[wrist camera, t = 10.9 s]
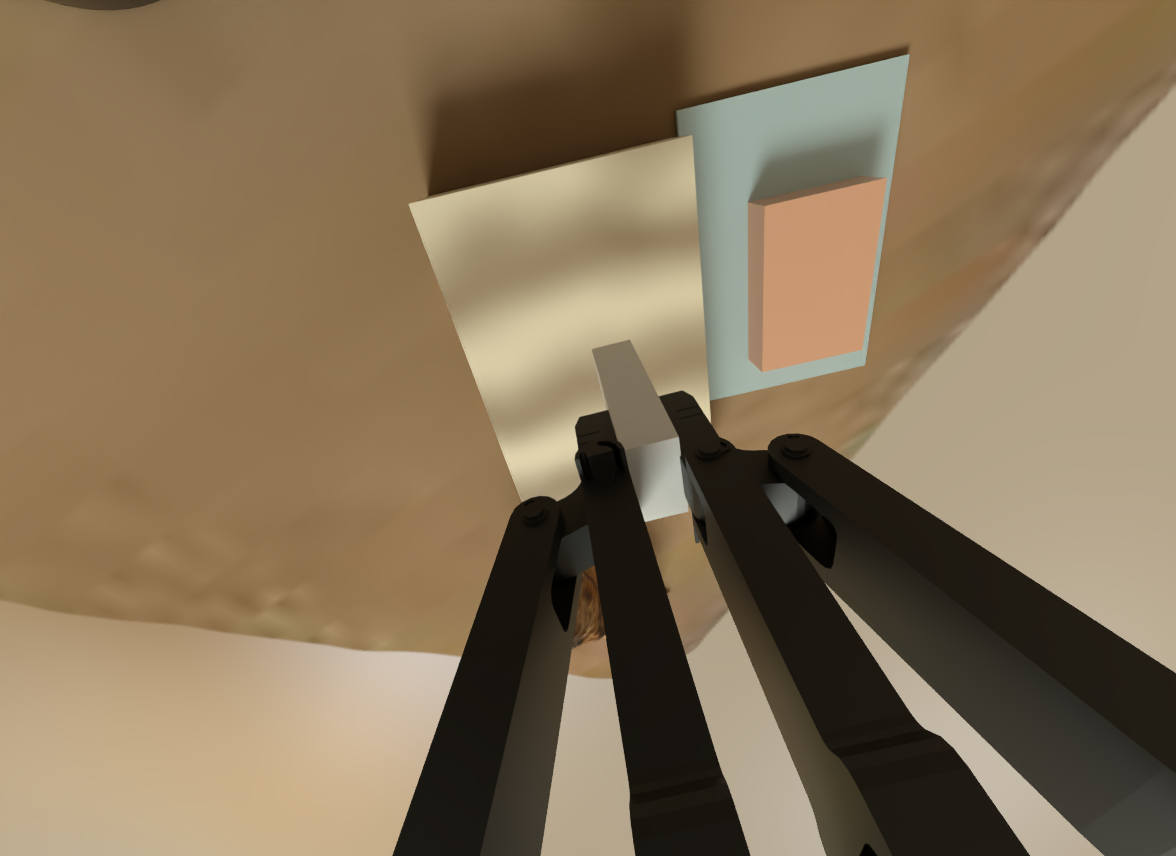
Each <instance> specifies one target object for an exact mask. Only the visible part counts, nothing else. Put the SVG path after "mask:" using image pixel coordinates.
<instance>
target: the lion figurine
mask: <svg viewBox="0 0 1176 856" xmlns="http://www.w3.org/2000/svg"><path fill="white" fill-rule="evenodd" d="M582 576H583V577H582V584H581V591H580V597H579V604H578V610H577V617H576V624H575V630H574V637H573V643H572V650H573V649H577V648H578V647H579V646H580V645H582V644H587V643H589V642H596V641H598V640H600V639H601V638H602V637H603V638H605V639H606V635H605V629H604V622H603V616H602V610H601V603H600V597H599V591H598V584H597V578H596V572H595V565H594V566H593V567H591V568H589V569H587V570H585V571H584V572H582ZM572 650H571V651H572Z"/></svg>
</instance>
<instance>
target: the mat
mask: <svg viewBox="0 0 1176 856" xmlns="http://www.w3.org/2000/svg"><path fill="white" fill-rule="evenodd" d="M909 55H910V54H907V55H903V56H899V57H895V58H891V59H887V60H883V61H879V62H875V63H871V64H866V65H862V66H858V67H854V68H850V69H846V70H842V71H838V72H834V73H829V74H825V75H821V76H817V77H813V78H809V79H805V80H801V81H797V82H792V83H788V84H784V85H780V86H776V87H772V88H768V89H764V90H760V91H756V92H751V93H747V94H743V95H739V96H735V97H731V98H727V99H723V100H719V101H714V102H710V103H706V104H702V105H698V106H694V107H690V108H686V109H682V110H677V111H675V112H676V125H677V137H681V136H689V135H692V138H693V154H694V169H695V185H696V200H697V215H698V231H699V246H700V262H701V277H702V292H703V308H704V323H705V339H706V354H707V369H708V385H709V400H710V401H711V400H716V399H720V398H724V397H729V396H733V395H737V394H742V393H746V392H750V391H755V390H759V389H763V388H768V387H772V386H776V385H781V384H785V383H789V382H794V381H798V380H802V379H807V378H811V377H815V376H820V375H824V374H828V373H833V372H837V371H841V370H846V369H850V368H854V367H859V366H863V365H865V361H866V354H867V348H868V341H869V334H870V327H871V320H872V313H873V306H874V299H875V292H876V285H877V278H878V271H879V264H880V257H881V250H882V243H883V236H884V229H885V222H886V215H887V208H888V201H889V195H890V188H891V181H892V174H893V167H894V160H895V153H896V146H897V139H898V132H899V125H900V118H901V111H902V104H903V97H904V90H905V83H906V76H907V69H908V62H909ZM859 176H868V177H884V178H887V182H886V189H885V196H884V203H883V210H882V217H881V224H880V231H879V238H878V245H877V252H876V259H875V265H874V272H873V279H872V286H871V293H870V300H869V307H868V314H867V321H866V328H865V335H864V342H863V349H862V350H859V351H855V352H850V353H846V354H841V355H837V356H833V357H828V358H824V359H819V360H815V361H810V362H806V363H802V364H797V365H793V366H788V367H784V368H779V369H775V370H771V371H766V372H761V371H760V370H759V369H758V368H757V367H756V366H755V365H754V364H753V363H752V362H751V361H750V360H749V359H748V202H752V201H756V200H760V199H765V198H769V197H773V196H777V195H782V194H786V193H790V192H795V191H799V190H803V189H808V188H812V187H816V186H821V185H825V184H829V183H833V182H838V181H842V180H846V179H851V178H855V177H859Z"/></svg>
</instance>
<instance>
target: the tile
mask: <svg viewBox="0 0 1176 856" xmlns="http://www.w3.org/2000/svg"><path fill="white" fill-rule="evenodd" d="M886 182H887V178H884V177H868V176H859V177H855V178H851V179H846V180H842V181H838V182H833V183H829V184H825V185H821V186H816V187H812V188H808V189H803V190H799V191H795V192H790V193H786V194H782V195H777V196H773V197H769V198H765V199H760V200H756V201H752V202H748V359H749V360H750V361H751V362H752V363H753V364H754V365H755V366H756V367H757V368H758V369H759V370H760V371H761V372H766V371H771V370H775V369H779V368H784V367H788V366H793V365H797V364H802V363H806V362H810V361H815V360H819V359H824V358H828V357H833V356H837V355H841V354H846V353H850V352H855V351H859V350H862V349H863V342H864V335H865V328H866V321H867V314H868V307H869V300H870V293H871V286H872V279H873V272H874V265H875V259H876V252H877V245H878V238H879V231H880V224H881V217H882V210H883V203H884V196H885V189H886Z"/></svg>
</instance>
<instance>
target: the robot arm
mask: <svg viewBox="0 0 1176 856" xmlns="http://www.w3.org/2000/svg"><path fill="white" fill-rule="evenodd" d="M46 1H49V2H53V3H57V4H61V5H65V6H71V7H76V8H82V9H93V10H121V9H130V8H135V7H140V6H145V5H148V4H151V3H154V2H157V1H159V0H46ZM592 354H593V358H594V362H595V366H596V371H597V375H598V379H599V384H600V388H601V392H602V397H603V401H604V405H605V409H606V410H605V411H601V412H597V413H593V414H589V415H585V416H581V417H579V419H578V421H577V423H576V425H575V432H576V438H577V444H578V451H577V452H576V453H575V459H574V460H575V463H576V467H577V470H578V473H579V477H580V480H581V483H580V485H579V486H578V487H577V489H576V490H574V491H573V492H572V493H571V494H569V495H568V496H566V497H565V498H563V499H561V500H559V501H556V500H555V499H553V498H551V497H549V496H537V497H532V498H529V499H527V500H525V501H523V502H522V503H521V504H519V505H518V506H517V507H516V508H515V509H514V511H513V513H512V514H511V516H510V519H509V522H508V525H507V528H506V531H505V534H504V537H503V539H502V542H501V545H500V548H499V551H498V554H497V557H496V560H495V562H494V565H493V568H492V571H491V574H490V577H489V580H488V583H487V585H486V588H485V591H484V594H483V597H482V600H481V603H480V606H479V608H478V611H477V614H476V617H475V620H474V623H473V626H472V629H471V631H470V634H469V637H468V640H467V643H466V646H465V649H464V652H463V654H462V657H461V660H460V663H459V666H458V669H457V672H456V675H455V677H454V681H453V683H452V686H451V689H450V692H449V695H448V698H447V700H446V703H445V706H444V709H443V712H442V715H441V718H440V721H439V723H438V727H437V729H436V732H435V735H434V738H433V741H432V743H431V746H430V749H429V752H428V755H427V758H426V761H425V764H424V766H423V770H422V773H421V775H420V778H419V781H418V784H417V787H416V790H415V792H414V795H413V798H412V801H411V804H410V807H409V810H408V812H407V816H406V818H405V821H404V824H403V827H402V830H401V833H400V836H399V838H398V841H397V844H396V847H395V850H394V853H393V856H540V855H541V848H542V842H543V835H544V828H545V822H546V815H547V808H548V802H549V795H550V788H551V782H552V776H553V769H554V762H555V756H556V749H557V743H558V736H559V728H560V722H561V716H562V710H563V703H564V696H565V690H566V683H567V676H568V670H569V663H570V657H571V650H572V643H573V637H574V630H575V624H576V617H577V610H578V604H579V597H580V591H581V584H582V577H583V576H582V572H584V571H585V570H587V569H589V568H591V567H593V566H594V565H595V572H596V578H597V584H598V591H599V597H600V603H601V610H602V616H603V622H604V629H605V635H606V641H607V648H608V654H609V660H610V667H611V673H612V679H613V686H614V692H615V698H616V704H617V711H618V717H619V723H620V730H621V736H622V743H623V749H624V755H625V761H626V768H627V774H628V781H629V789H630V805H629V807H630V820H631V828H632V835H633V843H634V849H635V856H750V853H749V850H748V846H747V843H746V840H745V837H744V833H743V831H742V827H741V824H740V821H739V817H738V814H737V811H736V809H735V805H734V802H733V799H732V796H731V793H730V790H729V788H728V785H727V782H726V780H725V778H724V776H723V774H722V771H721V768H720V765H719V762H718V759H717V756H716V752H715V750H714V746H713V743H712V739H711V736H710V733H709V730H708V727H707V723H706V720H705V716H704V713H703V710H702V707H701V704H700V700H699V697H698V694H697V690H696V687H695V684H694V681H693V677H692V674H691V671H690V668H689V664H688V661H687V658H686V654H685V651H684V648H683V645H682V641H681V638H680V635H679V632H678V628H677V625H676V622H675V619H674V615H673V612H672V609H671V606H670V602H669V599H668V596H667V593H666V589H665V586H664V583H663V579H662V576H661V573H660V570H659V566H658V563H657V560H656V557H655V553H654V550H653V547H652V544H651V540H650V537H649V534H648V531H647V527H646V524H645V522H647V521H651V520H655V519H659V518H663V517H667V516H672V515H676V514H680V513H684V512H688V506H687V502H688V504H689V506H690V509H691V511H692V518H693V526H694V534H695V541H696V543H700V542H701V544H702V546H703V549H704V551H705V553H706V556H707V558H708V561H709V563H710V565H711V568H712V570H713V572H714V575H715V577H716V580H717V582H718V584H719V587H720V589H721V591H722V594H723V596H724V599H725V601H726V603H727V606H728V608H729V610H730V613H731V615H732V617H733V620H734V622H735V625H736V627H737V629H738V632H739V634H740V636H741V639H742V641H743V644H744V646H745V648H746V651H747V653H748V655H749V658H750V660H751V663H752V665H753V667H754V669H755V672H756V674H757V677H758V679H759V681H760V684H761V686H762V689H763V691H764V693H765V696H766V698H767V701H768V703H769V705H770V708H771V710H772V712H773V715H774V717H775V719H776V722H777V724H778V727H779V729H780V731H781V734H782V736H783V739H784V741H785V743H786V746H787V748H788V750H789V752H790V755H791V757H792V760H793V762H794V765H795V767H796V769H797V772H798V774H799V776H800V779H801V781H802V784H803V786H804V788H805V791H806V793H807V795H808V798H809V801H810V803H811V806H812V809H813V812H814V815H815V818H816V822H817V826H818V830H819V834H820V838H821V841H822V844H823V847H824V850H825V853H826V855H827V856H1030V855H1029V854H1028V852H1027V851H1026V849H1025V848H1024V846H1023V845H1022V843H1021V842H1020V841H1019V839H1018V838H1017V837H1016V835H1015V833H1014V832H1013V831H1012V829H1011V828H1010V826H1009V825H1008V824H1007V822H1006V820H1005V819H1004V818H1003V816H1002V815H1001V813H1000V812H999V811H998V809H997V808H996V806H995V805H994V803H993V802H992V800H991V799H990V798H989V796H988V795H987V793H986V792H985V790H984V789H983V787H982V786H981V785H980V783H979V782H978V780H977V779H976V777H975V776H974V774H973V773H972V772H971V770H970V769H969V767H968V766H967V765H966V764H965V762H964V761H963V760H962V758H961V757H960V756H959V755H958V753H957V752H956V751H955V750H954V748H953V747H951V746H950V745H949V744H948V743H947V742H946V741H945V740H944V739H943V738H942V737H941V736H939V735H936V734H934V733H932V732H930V731H928V730H925V729H924V728H923V727H922V726H921V725H920V724H919V723H918V722H917V721H916V720H915V718H914V717H913V716H912V714H911V713H910V712H909V710H908V709H907V707H906V706H905V704H904V702H903V701H902V699H901V698H900V697H899V695H898V693H897V692H896V690H895V689H894V687H893V686H892V684H891V683H890V681H889V680H888V678H887V677H886V675H885V674H884V672H883V671H882V669H881V668H880V666H879V665H878V663H877V662H876V660H875V659H874V657H873V656H872V654H871V653H870V651H869V649H868V648H867V646H866V645H865V643H864V642H863V640H862V639H861V638H860V636H859V634H858V633H857V632H856V630H855V628H854V627H853V625H852V624H851V622H850V621H849V619H848V618H847V616H846V615H845V613H844V612H843V610H842V609H841V607H840V606H839V604H838V603H837V601H836V600H835V598H834V597H833V595H832V593H831V592H830V591H829V589H828V587H827V586H826V584H827V585H828V586H829V587H830V588H831V589H832V590H833V591H834V592H835V593H836V594H837V595H838V596H839V597H840V598H841V599H842V600H843V601H844V602H845V603H846V604H847V605H848V606H849V607H850V608H851V609H853V611H854V612H855V613H856V614H858V615H859V617H860V618H861V619H863V621H865V622H866V623H867V624H868V625H869V626H870V627H871V628H872V629H873V630H874V631H875V632H876V633H877V634H878V635H879V636H880V637H881V638H882V639H883V640H884V641H885V642H886V643H887V644H888V645H889V646H890V647H891V648H892V649H893V650H894V651H895V652H896V653H897V654H898V655H899V656H900V657H901V658H902V659H903V660H904V661H905V662H906V663H907V664H908V665H909V666H910V667H911V668H912V669H914V670H915V672H917V674H918V675H920V676H921V677H922V678H923V679H924V680H925V681H926V682H927V683H928V684H929V685H930V686H931V687H932V688H933V689H934V690H935V691H936V692H937V693H938V694H939V695H940V696H941V697H942V698H943V699H944V700H945V701H946V702H947V703H948V704H949V705H950V706H951V707H952V708H953V709H954V710H955V711H956V712H957V713H958V714H959V715H960V716H961V717H962V718H963V719H964V720H965V721H966V722H967V723H968V724H970V726H971V727H973V728H974V729H975V730H976V731H977V732H978V733H979V734H980V735H981V736H982V737H983V738H984V739H985V740H986V741H987V742H988V743H989V744H990V745H991V746H992V747H993V748H994V749H995V750H996V751H997V752H998V753H999V754H1000V755H1001V756H1002V757H1003V758H1004V759H1005V760H1006V761H1007V762H1008V763H1009V764H1010V765H1011V766H1012V767H1013V768H1014V769H1015V770H1016V771H1017V772H1018V773H1019V774H1020V775H1022V777H1023V778H1024V779H1026V780H1027V781H1028V782H1029V783H1030V784H1031V785H1032V786H1033V787H1034V788H1035V789H1036V790H1037V791H1038V792H1039V793H1040V794H1041V795H1042V796H1043V797H1044V798H1045V799H1046V800H1047V801H1048V802H1049V803H1050V804H1051V805H1052V806H1053V807H1054V808H1055V809H1056V810H1057V811H1058V812H1059V813H1060V814H1061V815H1062V816H1063V817H1064V818H1065V819H1066V820H1067V821H1068V822H1069V823H1070V824H1071V825H1072V826H1073V827H1074V828H1076V830H1077V831H1079V833H1081V834H1082V835H1083V836H1084V837H1085V838H1086V839H1087V840H1088V841H1089V842H1090V843H1091V844H1092V845H1094V846H1095V847H1096V848H1097V849H1098V850H1099V851H1100V852H1101V853H1102V854H1103V855H1104V856H1176V673H1175V672H1173V671H1171V670H1170V669H1168V668H1167V667H1165V666H1164V665H1162V664H1161V663H1159V662H1158V661H1156V660H1155V659H1153V658H1152V657H1150V656H1148V655H1147V654H1145V653H1144V652H1142V651H1141V650H1139V649H1138V648H1136V647H1135V646H1133V645H1132V644H1130V643H1129V642H1127V641H1125V640H1124V639H1123V638H1121V637H1119V636H1118V635H1116V634H1115V633H1113V632H1112V631H1110V630H1109V629H1107V628H1106V627H1104V626H1103V625H1101V624H1100V623H1098V622H1096V621H1094V620H1093V619H1092V618H1090V617H1089V616H1087V615H1086V614H1084V613H1083V612H1081V611H1080V610H1078V609H1077V608H1075V607H1073V606H1072V605H1070V604H1069V603H1067V602H1066V601H1064V600H1063V599H1061V598H1060V597H1058V596H1057V595H1055V594H1053V593H1052V592H1050V591H1049V590H1047V589H1046V588H1044V587H1043V586H1041V585H1040V584H1038V583H1037V582H1035V581H1034V580H1032V579H1031V578H1029V577H1027V576H1026V575H1024V574H1023V573H1021V572H1020V571H1018V570H1017V569H1015V568H1014V567H1012V566H1011V565H1009V564H1007V563H1006V562H1005V561H1003V560H1001V559H1000V558H998V557H997V556H995V555H994V554H992V553H991V552H989V551H988V550H986V549H985V548H983V547H981V546H980V545H978V544H977V543H975V542H974V541H972V540H971V539H969V538H968V537H966V536H964V535H963V534H962V533H960V532H959V531H957V530H955V529H954V528H952V527H951V526H949V525H948V524H946V523H945V522H943V521H942V520H940V519H939V518H937V517H935V516H934V515H932V514H931V513H929V512H928V511H926V510H925V509H923V508H922V507H920V506H919V505H917V504H916V503H914V502H913V501H911V500H909V499H908V498H906V497H905V496H903V495H902V494H900V493H899V492H897V491H896V490H894V489H893V488H891V487H890V486H888V485H886V484H885V483H883V482H882V481H880V480H879V479H877V478H876V477H874V476H873V475H871V474H870V473H868V472H866V471H865V470H863V469H862V468H860V467H859V466H857V465H856V464H854V463H853V462H851V461H850V460H848V459H847V458H845V457H844V456H842V455H841V454H839V453H837V452H836V451H834V450H833V449H831V448H830V447H828V446H827V445H825V444H824V443H822V442H821V441H819V440H817V439H815V438H813V437H811V436H808V435H803V434H785V435H782V436H778V437H776V438H775V439H773V440H772V441H771V442H770V444H769V446H768V450H756V451H750V450H740V449H736V448H735V447H734V445H733V444H731V443H730V442H729V441H728V440H725V439H723V438H720V437H719V436H718V434H717V433H716V431H715V429H714V428H713V426H712V425H711V423H710V422H709V420H708V418H707V417H706V415H705V414H704V413H703V411H702V409H701V407H699V404H698V403H697V401H696V400H695V398H694V396H692V395H690V394H688V393H686V392H685V391H683V390H682V391H678V392H673V393H669V394H665V395H661V396H658V394H657V392H656V390H655V388H654V386H653V384H652V383H651V381H650V379H649V377H648V375H647V373H646V371H645V369H644V367H643V365H642V363H641V361H640V359H639V357H638V355H637V353H636V351H635V349H634V347H633V345H632V343H631V341H630V340H626V341H622V342H618V343H614V344H610V345H606V346H602V347H598V348H594V349H592ZM699 539H700V542H699ZM824 582H825V583H826V584H825V583H824Z"/></svg>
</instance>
